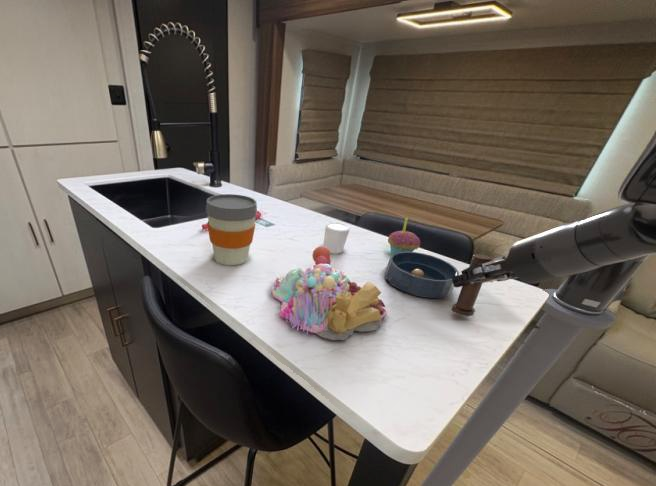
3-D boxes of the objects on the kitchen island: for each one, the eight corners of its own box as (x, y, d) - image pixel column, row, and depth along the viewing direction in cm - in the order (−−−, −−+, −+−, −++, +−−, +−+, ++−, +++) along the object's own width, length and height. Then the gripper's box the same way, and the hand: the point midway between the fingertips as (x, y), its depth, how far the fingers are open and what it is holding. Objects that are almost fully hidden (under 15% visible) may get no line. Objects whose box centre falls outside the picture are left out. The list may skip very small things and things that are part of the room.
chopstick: (263, 221, 109) (255, 213, 111) (264, 216, 108) (256, 208, 110) (206, 235, 96) (198, 226, 97) (207, 229, 94) (199, 220, 96)
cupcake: (398, 263, 85) (413, 221, 78) (377, 251, 91) (389, 211, 85) (420, 259, 88) (437, 218, 81) (399, 247, 94) (412, 209, 88)
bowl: (428, 269, 83) (435, 252, 80) (464, 300, 71) (473, 281, 68) (375, 268, 82) (380, 250, 79) (401, 299, 69) (408, 280, 67)
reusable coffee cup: (204, 267, 77) (202, 207, 68) (209, 246, 87) (208, 192, 79) (254, 269, 77) (258, 210, 69) (253, 248, 88) (257, 195, 79)
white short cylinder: (334, 243, 94) (339, 221, 91) (349, 252, 89) (355, 229, 86) (316, 246, 92) (320, 223, 88) (330, 255, 87) (335, 232, 83)
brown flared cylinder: (463, 306, 66) (483, 253, 61) (478, 315, 63) (500, 259, 57) (446, 307, 65) (465, 253, 60) (460, 316, 62) (481, 260, 57)
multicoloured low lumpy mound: (404, 311, 65) (419, 273, 60) (338, 361, 52) (351, 317, 47) (313, 266, 80) (319, 233, 75) (244, 296, 67) (246, 257, 62)
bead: (419, 269, 77) (423, 280, 76) (407, 272, 77) (411, 283, 77) (423, 266, 74) (427, 277, 73) (410, 269, 74) (414, 281, 74)
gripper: (582, 229, 49) (483, 262, 66) (514, 231, 46) (428, 266, 63) (597, 273, 48) (492, 296, 65) (529, 279, 45) (437, 302, 61)
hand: (461, 281), depth 63 cm, fingers closed on brown flared cylinder, 3 cm apart
